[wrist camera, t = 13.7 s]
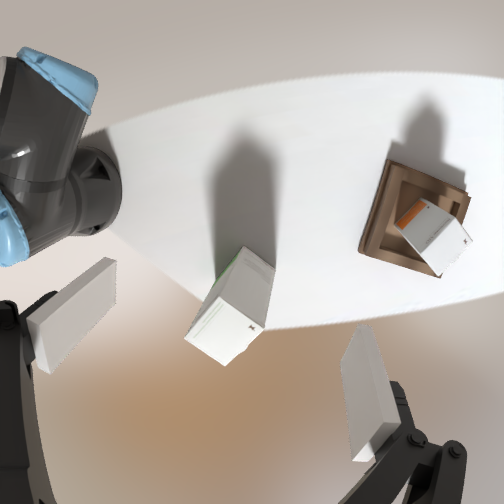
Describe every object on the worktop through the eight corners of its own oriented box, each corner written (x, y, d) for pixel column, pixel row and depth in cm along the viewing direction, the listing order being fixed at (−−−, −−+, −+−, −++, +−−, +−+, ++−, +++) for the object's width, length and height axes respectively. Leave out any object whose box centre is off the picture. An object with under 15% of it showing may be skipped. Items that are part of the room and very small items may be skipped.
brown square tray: (357, 250, 45) (361, 257, 42) (387, 159, 40) (393, 160, 37) (434, 274, 44) (441, 282, 41) (465, 191, 39) (474, 195, 36)
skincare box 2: (420, 195, 40) (456, 215, 29) (436, 216, 40) (474, 241, 29) (391, 224, 42) (419, 253, 31) (409, 244, 42) (439, 278, 31)
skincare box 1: (244, 244, 47) (219, 291, 33) (279, 271, 48) (268, 327, 33) (213, 282, 50) (180, 338, 36) (246, 307, 51) (225, 369, 36)
